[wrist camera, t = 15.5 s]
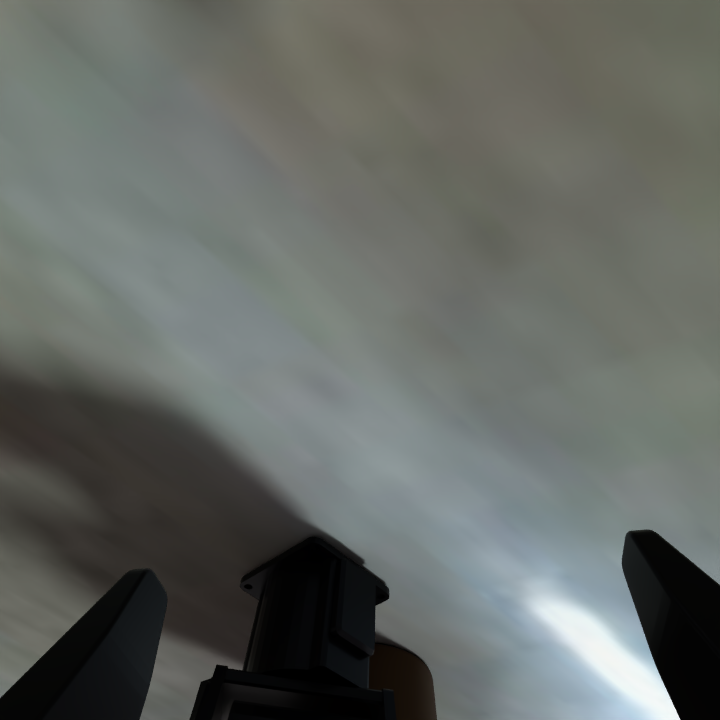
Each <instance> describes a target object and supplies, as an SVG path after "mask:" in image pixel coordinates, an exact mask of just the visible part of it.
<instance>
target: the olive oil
mask: <svg viewBox="0 0 720 720" xmlns="http://www.w3.org/2000/svg"><path fill="white" fill-rule="evenodd" d="M382 688H383V689H390V690H393V691H394V700H395V710H396V719H397V720H437V715H436V705H435V695H434V686H433V679H432V675H431V672H430V670H429V669H428V667H427V666H426V665H425V664H424V663H423V662H422V661H421V660H420V659H419V658H417V657H416V656H414V655H412V654H410V653H408V652H406V651H404V650H401V649H399V648H396V647H392V646H388V645H383V644H376V643H375V649H374V654H373V655H372V656H370V657H369V689H374V690H382Z"/></svg>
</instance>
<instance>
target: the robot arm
mask: <svg viewBox="0 0 720 720" xmlns="http://www.w3.org/2000/svg"><path fill="white" fill-rule="evenodd" d="M622 568H623V572H624V576H625V579H626V582H627V584H628V587H629V590H630V593H631V596H632V599H633V602H634V605H635V608H636V611H637V613H638V616H639V619H640V622H641V625H642V628H643V631H644V634H645V637H646V640H647V643H648V645H649V648H650V651H651V654H652V657H653V659H654V662H655V665H656V667H657V669H658V672H659V674H660V676H661V679H662V681H663V683H664V685H665V687H666V689H667V692H668V694H669V696H670V698H671V700H672V702H673V705H674V707H675V709H676V711H677V713H678V715H679V718H680V720H720V585H719V584H718V583H717V582H716V581H714V580H713V579H712V578H711V577H710V576H708V575H707V574H706V573H705V572H703V571H702V570H701V569H700V568H699V567H697V566H696V565H695V564H694V563H693V562H691V561H690V560H689V559H688V558H687V557H685V556H684V555H683V554H682V553H680V552H679V551H678V550H677V549H676V548H674V547H673V546H672V545H671V544H670V543H668V542H667V541H666V540H665V539H663V538H662V537H661V536H660V535H659V534H657V533H656V532H654V531H652V530H635V531H629V532H628V533H627V534H626V536H625V542H624V549H623V555H622ZM240 588H241V589H242V590H244V591H245V592H247V593H248V594H250V595H252V596H253V597H255V598H256V599H258V600H259V602H258V606H257V611H256V615H255V619H254V623H253V628H252V632H251V636H250V641H249V645H248V649H247V653H246V658H245V662H244V666H243V670H235V669H228V666H223V665H216V668H215V671H214V674H213V677H212V678H211V679H208V680H205V681H202V682H201V684H200V687H199V690H198V694H197V697H196V701H195V704H194V707H193V710H192V714H191V717H190V720H397V719H396V710H395V700H394V691H393V690H390V689H383V688H382V690H374V689H369V657H370V656H372V655H373V654H374V649H375V606H376V605H378V604H380V603H382V602H384V601H386V600H388V599H389V588H388V587H387V586H385V585H384V584H383V583H381V582H380V581H378V580H377V579H376V578H374V577H373V576H372V575H370V574H369V573H368V572H366V571H365V570H364V569H362V568H361V567H359V566H358V565H357V564H355V563H354V562H353V561H351V560H350V559H349V558H347V557H346V556H344V555H343V554H342V553H340V552H339V551H338V550H336V549H335V548H334V547H332V546H331V545H330V544H328V543H327V542H325V541H324V540H323V539H321V538H319V537H311V538H308V539H307V540H305V541H303V542H302V543H300V544H298V545H296V546H295V547H293V548H291V549H290V550H288V551H286V552H285V553H283V554H281V555H279V556H278V557H276V558H274V559H273V560H271V561H269V562H267V563H266V564H264V565H262V566H261V567H259V568H257V569H256V570H254V571H252V572H250V573H249V574H247V575H245V576H244V577H243V578H242V580H241V583H240ZM166 607H167V594H166V591H165V589H164V588H163V586H162V585H161V583H160V581H159V580H158V578H157V576H156V575H155V573H154V572H153V571H152V570H151V569H148V568H146V569H134V570H131V571H129V572H127V573H126V574H125V575H124V576H123V577H122V578H121V579H120V580H119V581H118V582H117V583H116V584H115V585H114V586H113V587H112V588H111V589H110V590H109V591H108V592H107V593H106V594H105V595H104V596H103V597H102V598H101V599H100V600H99V601H98V602H97V603H96V604H95V605H94V606H93V607H92V608H90V609H89V610H88V611H87V612H86V613H85V614H84V615H83V616H82V617H81V618H80V619H79V620H78V621H77V622H76V623H75V624H74V625H73V626H72V627H71V628H70V629H69V630H68V631H67V632H66V633H65V634H64V635H63V636H62V637H61V638H60V639H59V640H58V641H57V642H56V643H55V644H54V645H53V646H52V647H51V648H50V649H49V650H48V651H47V652H46V653H45V654H44V655H43V656H42V657H41V658H40V659H39V660H38V661H37V662H36V663H35V664H34V665H33V666H32V667H31V668H30V669H29V670H28V671H27V672H26V673H25V674H24V675H23V676H22V677H21V678H20V679H19V680H18V681H17V682H16V683H15V684H14V685H13V686H12V687H11V688H10V689H9V690H8V691H7V692H6V693H5V694H4V695H3V696H2V697H1V698H0V720H139V719H140V716H141V713H142V709H143V706H144V703H145V700H146V696H147V693H148V689H149V686H150V681H151V677H152V673H153V668H154V664H155V659H156V654H157V650H158V645H159V640H160V635H161V631H162V626H163V621H164V617H165V612H166Z"/></svg>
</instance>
